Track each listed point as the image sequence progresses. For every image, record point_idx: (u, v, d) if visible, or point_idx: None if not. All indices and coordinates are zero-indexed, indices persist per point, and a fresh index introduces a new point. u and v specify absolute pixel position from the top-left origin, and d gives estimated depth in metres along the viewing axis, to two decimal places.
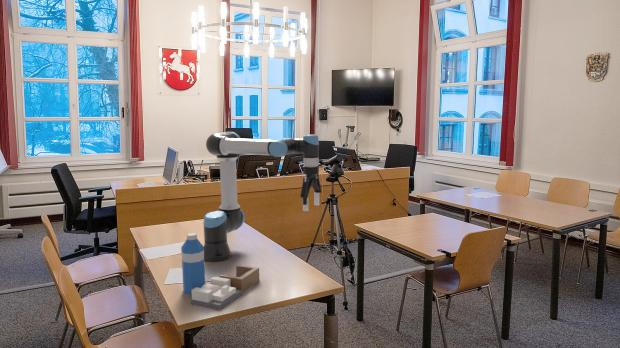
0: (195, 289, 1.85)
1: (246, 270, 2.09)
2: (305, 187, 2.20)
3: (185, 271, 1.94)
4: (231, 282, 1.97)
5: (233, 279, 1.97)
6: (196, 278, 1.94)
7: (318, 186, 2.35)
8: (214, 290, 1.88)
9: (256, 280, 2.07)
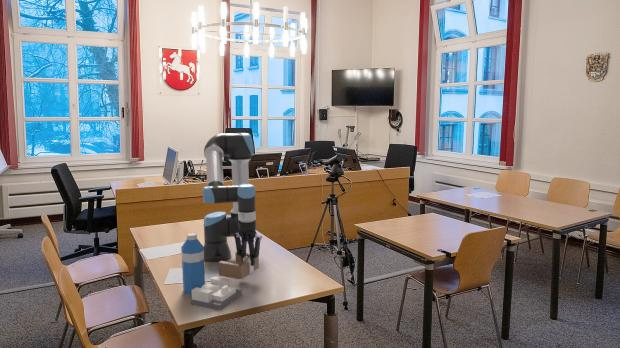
0: (195, 289, 1.85)
1: None
2: None
3: (185, 271, 1.94)
4: (230, 269, 1.97)
5: (232, 266, 1.96)
6: (196, 278, 1.94)
7: None
8: (214, 290, 1.88)
9: (255, 267, 2.06)
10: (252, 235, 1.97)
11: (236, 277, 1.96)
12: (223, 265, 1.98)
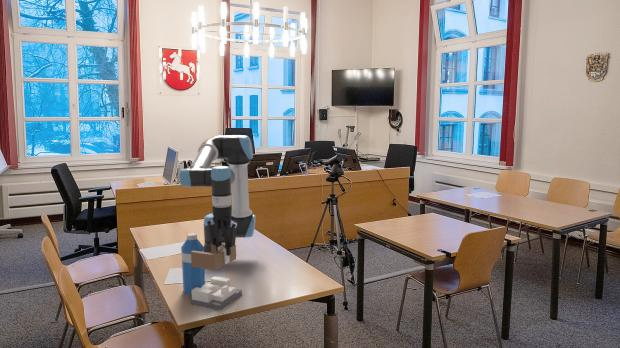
0: (195, 289, 1.85)
1: None
2: None
3: (185, 271, 1.94)
4: (203, 259, 1.80)
5: (205, 255, 1.79)
6: (196, 278, 1.94)
7: None
8: (214, 290, 1.88)
9: (232, 258, 1.89)
10: (227, 222, 1.81)
11: (209, 268, 1.79)
12: (196, 255, 1.81)
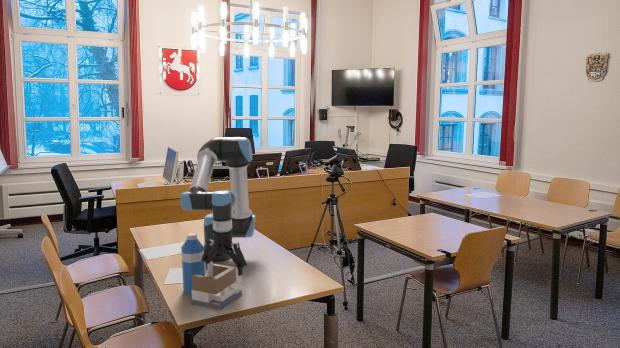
0: None
1: (222, 270, 1.93)
2: None
3: (185, 271, 1.94)
4: (204, 283, 1.81)
5: (206, 279, 1.81)
6: None
7: None
8: None
9: (233, 281, 1.91)
10: (228, 246, 1.82)
11: (210, 292, 1.81)
12: (197, 279, 1.82)
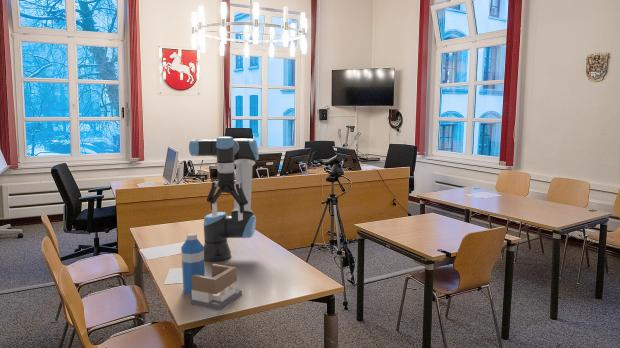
0: None
1: (222, 270, 1.93)
2: None
3: (185, 271, 1.94)
4: (204, 283, 1.81)
5: (206, 279, 1.81)
6: None
7: None
8: None
9: (233, 281, 1.91)
10: (231, 186, 2.01)
11: (210, 292, 1.81)
12: (197, 279, 1.82)
